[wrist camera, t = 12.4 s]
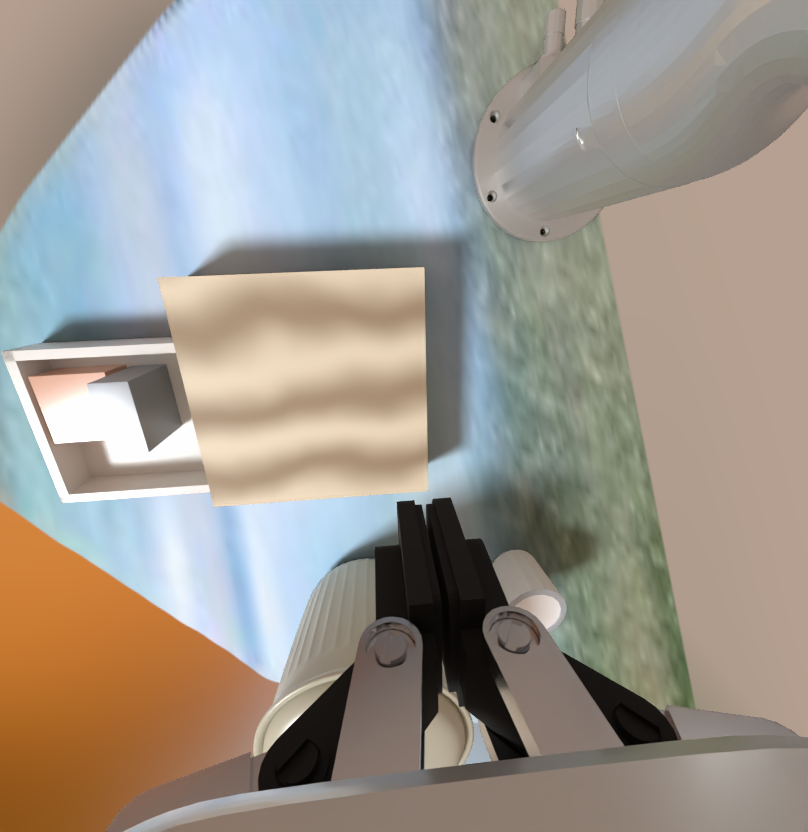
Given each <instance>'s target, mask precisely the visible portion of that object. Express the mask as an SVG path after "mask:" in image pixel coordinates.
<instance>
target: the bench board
mask: <svg viewBox="0 0 808 832" xmlns="http://www.w3.org/2000/svg"><path fill="white" fill-rule="evenodd" d="M158 283H159V287H160V291H161V295H162V299H163V303H164V307H165V311H166V315H167V319H168V323H169V327H170V331H171V335H172V339H173V343H174V347H175V351H176V355H177V359H178V364H179V368H180V372H181V376H182V380H183V384H184V388H185V392H186V396H187V400H188V404H189V408H190V412H191V416H192V420H193V424H194V428H195V432H196V436H197V440H198V444H199V449H200V453H201V457H202V461H203V465H204V469H205V473H206V477H207V481H208V485H209V489H210V493H211V497H212V501H213V505H214V507H219V506H232V505H246V504H259V503H272V502H286V501H299V500H312V499H326V498H339V497H352V496H366V495H379V494H393V493H406V492H419V491H428V444H427V388H426V331H425V275H424V267H413V268H388V269H363V270H338V271H312V272H287V273H262V274H237V275H212V276H187V277H162V278H158Z"/></svg>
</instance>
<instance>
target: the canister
mask: <svg viewBox="0 0 808 832" xmlns="http://www.w3.org/2000/svg"><path fill="white" fill-rule="evenodd" d="M374 621H376V605H375V558H374V559H369V558H366V559H358V560H354V561H349V562H347V563H343V564H341V565H340V566H339V567H335V568H334V569H333V570H332V571H331V572H329V573H327V574H326V575H325V577H324V578H322V579H321V580H320V582H319V583H318V585H317V586H316V587H315V589H314V590H313V592H312V594H311V597H310V599H309V601H308V603H307V606H306V608H305V611H304V614H303V617H302V619H301V622H300V625H299V627H298V630H297V633H296V636H295V639H294V642H293V645H292V648H291V651H290V654H289V657H288V660H287V663H286V666H285V669H284V672H283V675H282V677H281V680H280V683H279V686H278V689H277V692H276V696H275V699H274V702H273V705H272V706H271V707H270V708H269V709H268V711H267V712H266V714H265V715H264V716H263V718H262V719H261V721H260V723H259V725H258V728H257V731H256V734H255V738H254V745H253V747H254V748H253V749H254V750H253V751H254V756H257V755H260V754H262V753H265V752H267V751H268V750H269V748H270V747H271V746H272V745H273V743H274V742H275V741H276V740H277V739H278V738H279V737H280V736H281V735H282V734H283V733H284V732H285V731H286V730H287V729H288V728H289V727H290V726H291V725H292V724H293V723H294V722H295V721H296V720H297V719H298V718H299V717H300V716H301V715H302V714H303V713H304V712H305V711H306V710H307V709H308V708H309V707H310V706H311V705H312V704H313V703H314V702H315V701H316V700H317V699H318V698H319V697H320V696H321V695H322V694H323V693H324V692H325V691H326V690H327V689H328V688H329V687H330V686H331V685H332V684H333V683H334V682H335V681H336V680H337V679H338V678H339V677H340V676H341V675H342V674H343V673H344V672H345V671H346V670H347V669H348V668H349V667H350V666H351V665H352V664H353V663H354V662H355V658H356V653H357V648H358V643H359V640H360V638H361V635H362V633H363V632H364V630H365V629H366V628H367V627H368V626H369V625H370V624H372V623H373V622H374ZM442 688H443V691H442V693H441V694H438V713H437V715H436V716H435V718H434V719H433V720H432V722H431V723H430V725H429V726H428V727H427V729H426V730H425V769H433V768H441V767H450V766H458V765H463V764H464V763H465V761H466V759H467V758H468V756H469V753H470V751H471V748H472V744H473V739H474V727H473V722H472V718H471V715H470V713H469V712H468V711H467V710H466V709H465V707H459V704H458V699H457V694H456V692H450V693H449V691H448V687H447V682H446V677H445V671H444V666H443V660H442Z"/></svg>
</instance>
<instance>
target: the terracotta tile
mask: <svg viewBox="0 0 808 832" xmlns="http://www.w3.org/2000/svg"><path fill="white" fill-rule="evenodd" d="M125 368H127V367H126V364H119V365H103V366H86V367H70V368H55V369H52V370H49V371H46V372H42V373H39V374H36V375H33V376H29V377H28V378H29V381H30V383H31V386H32V388H33V391H34V393H35V396H36V398H37V401H38V403H39V406H40V408H41V411H42V413H43V416H44V418H45V421H46V423H47V426H48V428H49V431H50V433H51V436H52V438H53V441H54V443H55V444H56V443H70V442H84V441H98V440H105V437H104V434H103V431H102V428H101V425H100V422H99V419H98V416H97V414H96V411H95V408H94V405H93V402H92V399H91V396H90V393H89V390H88V387H87V384H88V383H90V382H93V381H95V380H98V379H100V378H103V377H105V376H108V375H110V374H113V373H115V372H118V371H120V370H123V369H125Z"/></svg>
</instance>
